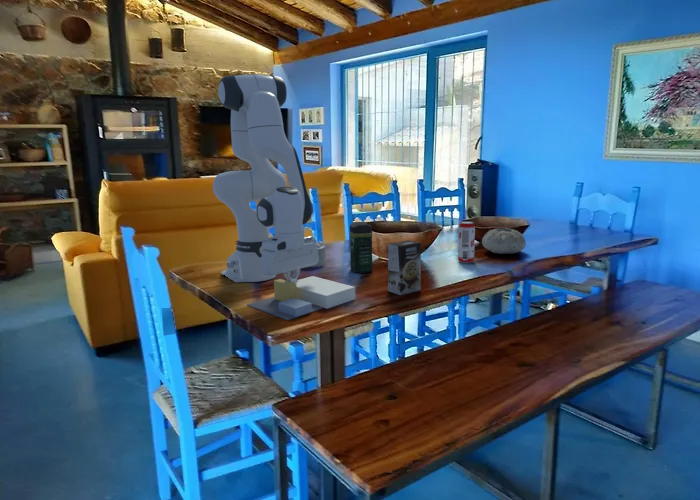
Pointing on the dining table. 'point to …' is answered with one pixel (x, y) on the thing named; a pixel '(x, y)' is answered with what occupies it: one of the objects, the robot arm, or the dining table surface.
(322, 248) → the lumpy-topped squat cylinder
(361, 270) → the coffee jar
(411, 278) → the coffee box
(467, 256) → the beer can
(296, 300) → the blue-grey rectangular block
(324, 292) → the block
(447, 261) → the dining table surface
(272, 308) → the mat
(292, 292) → the olive yellow block
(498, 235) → the grey rounded lump
